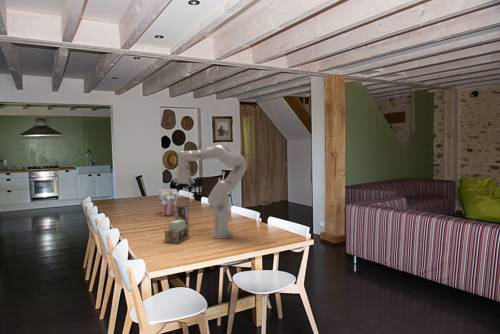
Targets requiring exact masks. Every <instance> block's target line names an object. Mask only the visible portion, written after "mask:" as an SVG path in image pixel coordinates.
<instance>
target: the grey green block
mask: <svg viewBox="0 0 500 334" xmlns="http://www.w3.org/2000/svg"><path fill="white" fill-rule="evenodd" d="M183 229H185V220H175V219H174V220H173V221H169V222H168V230H169V231H178V232H179V231H181V230H183Z"/></svg>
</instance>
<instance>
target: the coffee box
mask: <svg viewBox="0 0 500 334" xmlns="http://www.w3.org/2000/svg"><path fill="white" fill-rule="evenodd" d="M189 216H190V215H189V206H188V205H175V207H174V221H175V220H185V226H186V227H188V228H189V226H190V224H189V223H190V222H189Z"/></svg>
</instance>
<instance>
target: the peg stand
mask: <svg viewBox="0 0 500 334" xmlns="http://www.w3.org/2000/svg"><path fill="white" fill-rule="evenodd" d="M189 239H191V236H190V235H189V226H188V227H186V226H185V229H183V230H181V231H179V232H178V231H169V229H165V230H164V240H163V244H170V245H171V244H172V245H179V244H181V243H184V242H186V241H188V240H189ZM185 240H186V241H185Z"/></svg>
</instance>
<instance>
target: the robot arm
mask: <svg viewBox="0 0 500 334" xmlns="http://www.w3.org/2000/svg"><path fill="white" fill-rule="evenodd" d="M213 159H217V160H218V161H220V162H221V163H223V164H224V165H225V166H227V168H232V169H231V171H230V172H229V174H228V175H227V177H226V178H224V179H221V180H219V181H218V182H217V183H216V184H215V186H214V187H213V188H212V190H211V191H210V193H209V194H208V198H207V203H208V204H209V206H210V207H213V208H214V210H213V212H214V213H213V217H214V219H213V221H214V223H213V225H214V228H213V229H214V233H213V234H212V238H214V239H227V238H230V237H231V236H233V235H234V231H230V228H229V202H230V196H229V194H230V193H232V192H234V190H235V189H236V187H237V185H238V184H239V183H240V181H241V179H242V178H243V176H244V175H245V173H246V170H247V167H248V164H247V159H246V157H244V156H243V154H237V153H236V154H232V153H231V148H230V146H229V145H227V144H217V145H214V146H208V147H207V148H203V149H195V150H194V149H193V150H179V151H178V152H177V163H178V167H177V172H176V177H175V178H174V179H173V180H172V181H173V183H174V185H175V187H176V188H175V189H177V191H179V192H180V191H181V187H180V184H183V185H184V184H185V185H188V190H187V191H188V193H191V192H192V190H193V185H194V183H195V181H196V180H195V179H193V177H192V173H191V170H190V169H191V166H190V165H189V164H190V163H189V162H194V161H196V162H197V161H204V160H213Z"/></svg>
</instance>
